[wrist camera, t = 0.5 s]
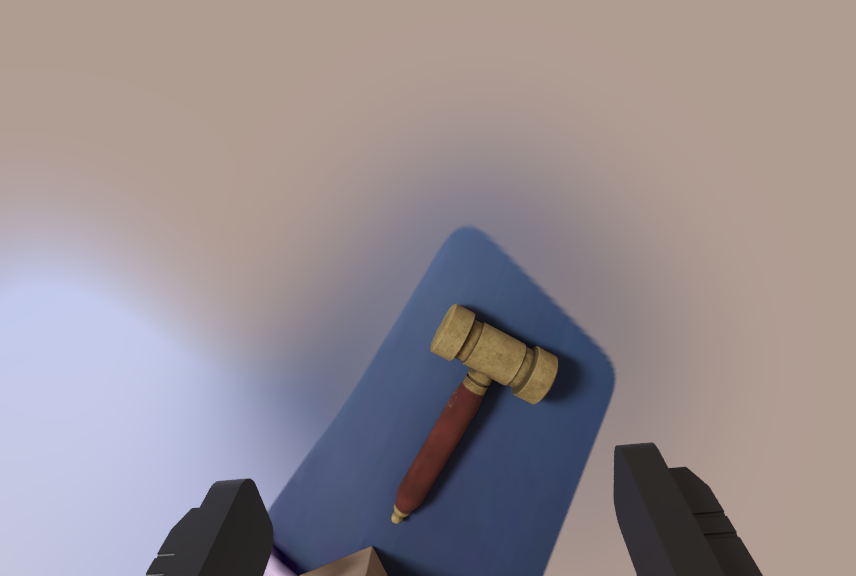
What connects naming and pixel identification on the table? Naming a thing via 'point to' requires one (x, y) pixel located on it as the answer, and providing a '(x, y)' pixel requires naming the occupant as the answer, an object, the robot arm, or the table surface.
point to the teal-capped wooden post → (352, 565)
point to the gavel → (472, 392)
